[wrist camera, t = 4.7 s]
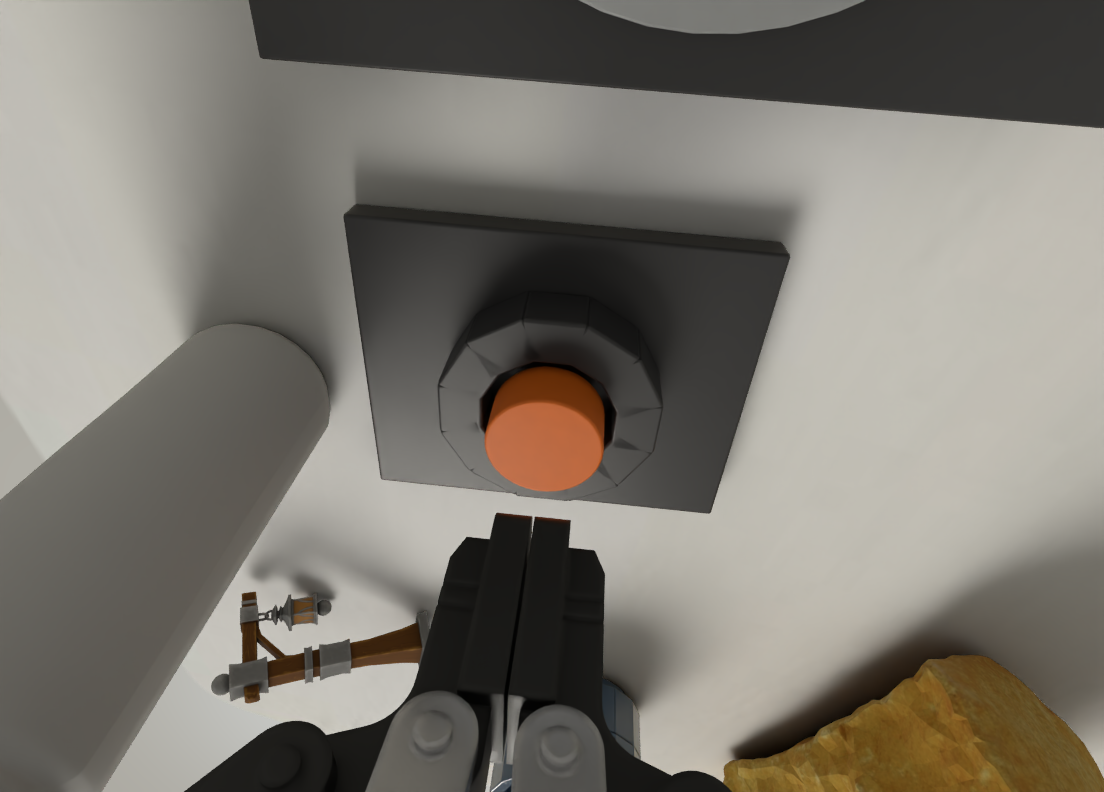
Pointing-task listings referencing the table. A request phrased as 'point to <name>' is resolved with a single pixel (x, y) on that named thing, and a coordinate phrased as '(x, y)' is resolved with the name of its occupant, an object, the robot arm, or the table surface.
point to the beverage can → (140, 546)
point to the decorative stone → (934, 741)
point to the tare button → (546, 429)
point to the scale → (732, 48)
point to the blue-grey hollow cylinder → (618, 719)
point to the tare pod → (559, 343)
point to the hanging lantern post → (310, 650)
